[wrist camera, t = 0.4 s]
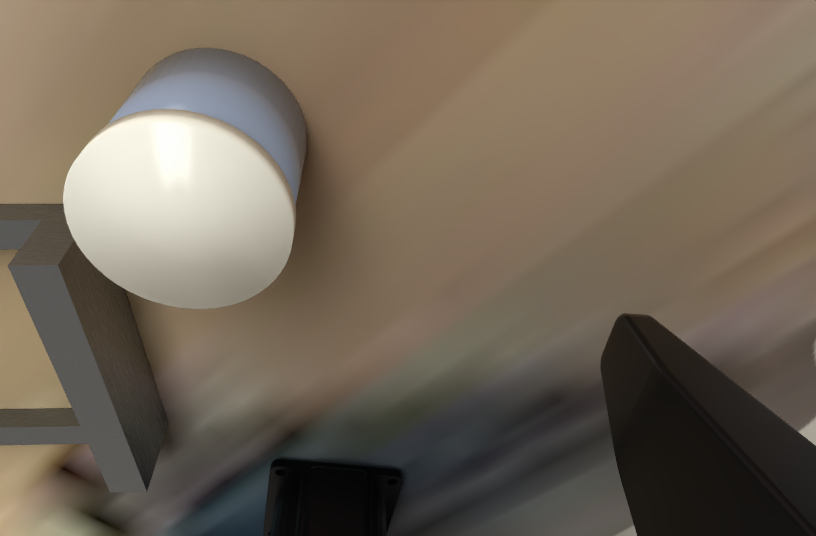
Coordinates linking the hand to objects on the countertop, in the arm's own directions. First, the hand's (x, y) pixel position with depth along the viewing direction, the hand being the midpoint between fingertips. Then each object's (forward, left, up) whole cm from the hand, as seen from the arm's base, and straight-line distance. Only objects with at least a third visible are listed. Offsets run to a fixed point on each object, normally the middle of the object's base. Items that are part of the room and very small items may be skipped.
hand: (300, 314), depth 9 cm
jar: (-4, +3, -13) cm, 14 cm away
